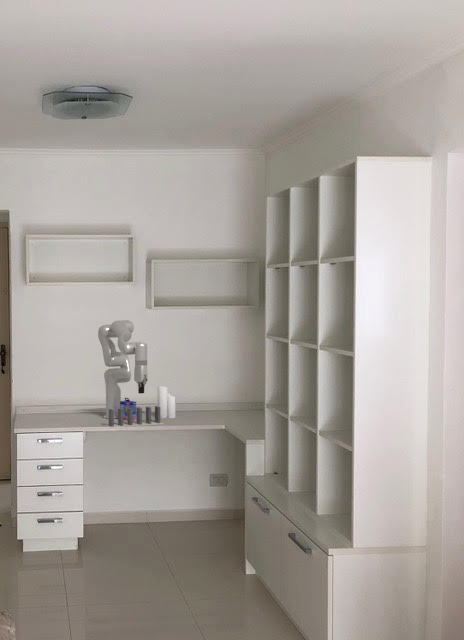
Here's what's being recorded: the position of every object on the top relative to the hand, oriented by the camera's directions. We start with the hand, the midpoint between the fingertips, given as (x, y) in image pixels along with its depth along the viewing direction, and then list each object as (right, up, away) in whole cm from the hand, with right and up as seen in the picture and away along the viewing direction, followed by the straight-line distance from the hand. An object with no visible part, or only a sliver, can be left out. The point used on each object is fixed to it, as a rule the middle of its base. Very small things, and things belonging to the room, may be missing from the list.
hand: (141, 393), depth 579 cm
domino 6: (+10, -19, +5) cm, 22 cm away
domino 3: (-7, -19, -3) cm, 20 cm away
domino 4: (-1, -19, 0) cm, 19 cm away
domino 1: (-17, -19, -8) cm, 27 cm away
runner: (-4, -19, -1) cm, 20 cm away
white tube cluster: (+13, -18, +29) cm, 37 cm away
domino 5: (+4, -19, +3) cm, 19 cm away
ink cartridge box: (-10, -19, +18) cm, 28 cm away
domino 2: (-12, -19, -5) cm, 23 cm away
